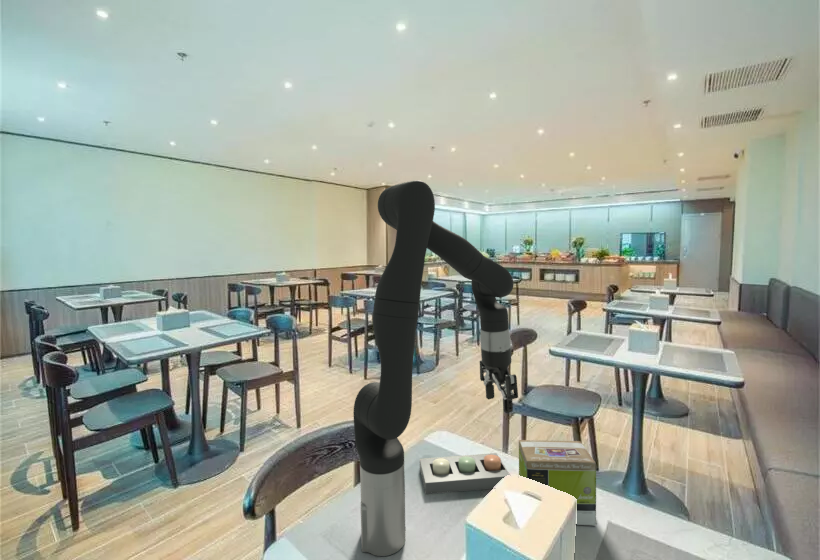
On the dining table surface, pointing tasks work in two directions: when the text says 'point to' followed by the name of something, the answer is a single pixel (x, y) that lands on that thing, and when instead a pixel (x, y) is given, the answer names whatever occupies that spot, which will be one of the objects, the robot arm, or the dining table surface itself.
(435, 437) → the dining table surface
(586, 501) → the tea box
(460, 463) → the sage button
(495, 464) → the terracotta button
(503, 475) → the button panel
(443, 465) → the cream button
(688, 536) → the dining table surface
